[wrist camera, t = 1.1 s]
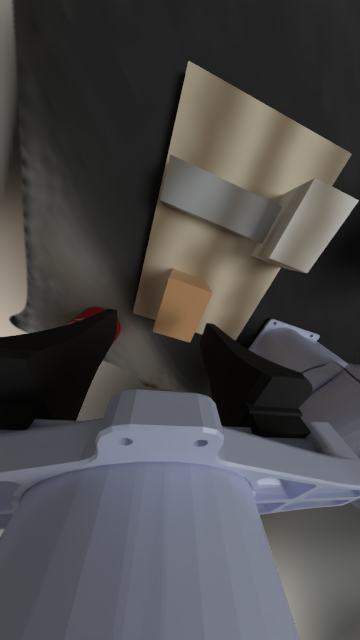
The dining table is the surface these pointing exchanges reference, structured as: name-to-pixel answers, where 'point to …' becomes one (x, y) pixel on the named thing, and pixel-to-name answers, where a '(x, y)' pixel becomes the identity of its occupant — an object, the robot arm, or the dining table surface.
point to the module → (182, 306)
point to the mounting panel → (243, 164)
